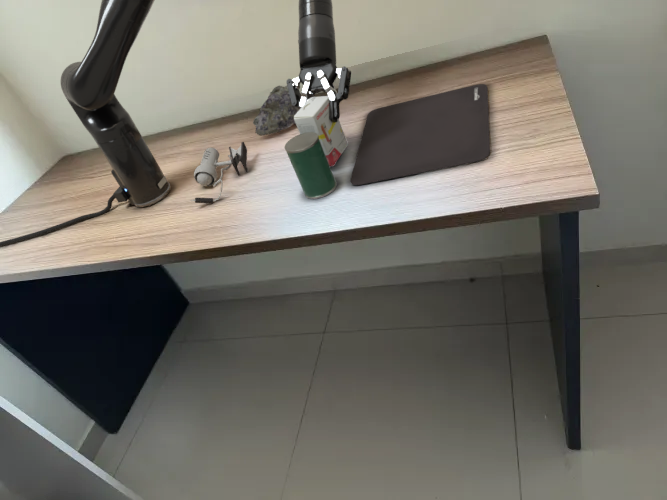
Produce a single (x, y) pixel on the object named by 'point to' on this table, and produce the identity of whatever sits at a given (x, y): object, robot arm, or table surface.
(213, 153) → the clip-on lamp
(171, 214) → the table surface
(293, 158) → the tin can
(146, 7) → the robot arm
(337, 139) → the ink box
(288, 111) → the mineral rock
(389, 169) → the mouse pad
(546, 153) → the table surface
